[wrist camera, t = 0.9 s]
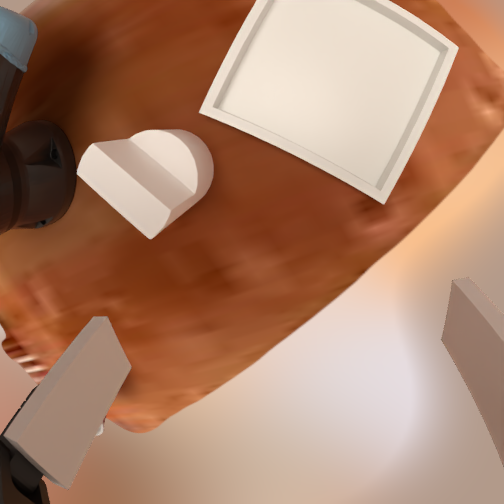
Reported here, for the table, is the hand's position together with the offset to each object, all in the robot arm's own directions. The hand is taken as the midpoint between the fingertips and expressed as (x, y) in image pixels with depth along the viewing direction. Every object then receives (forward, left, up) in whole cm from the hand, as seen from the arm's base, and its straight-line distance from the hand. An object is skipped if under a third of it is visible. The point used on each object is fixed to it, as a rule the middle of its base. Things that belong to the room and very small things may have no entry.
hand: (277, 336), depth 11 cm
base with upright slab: (-12, -3, -24) cm, 27 cm away
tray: (-1, +14, -23) cm, 28 cm away
